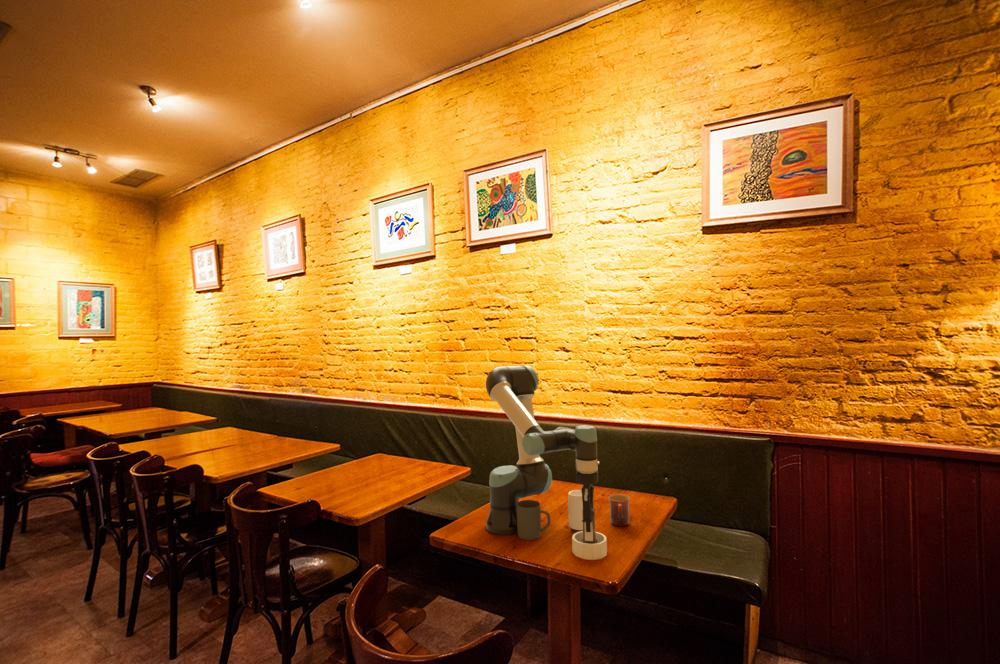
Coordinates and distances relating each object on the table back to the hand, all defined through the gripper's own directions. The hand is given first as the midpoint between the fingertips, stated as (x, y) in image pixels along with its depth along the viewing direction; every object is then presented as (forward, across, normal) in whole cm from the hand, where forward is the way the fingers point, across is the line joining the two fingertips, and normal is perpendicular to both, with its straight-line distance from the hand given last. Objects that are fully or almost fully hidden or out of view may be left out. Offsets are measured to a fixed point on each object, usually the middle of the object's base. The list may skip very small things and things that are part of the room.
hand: (589, 538), depth 162 cm
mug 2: (+5, +27, -9) cm, 29 cm away
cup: (+5, +19, +6) cm, 21 cm away
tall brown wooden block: (+2, 0, 0) cm, 2 cm away
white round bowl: (+5, 0, 0) cm, 5 cm away
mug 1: (+5, +8, +22) cm, 24 cm away
